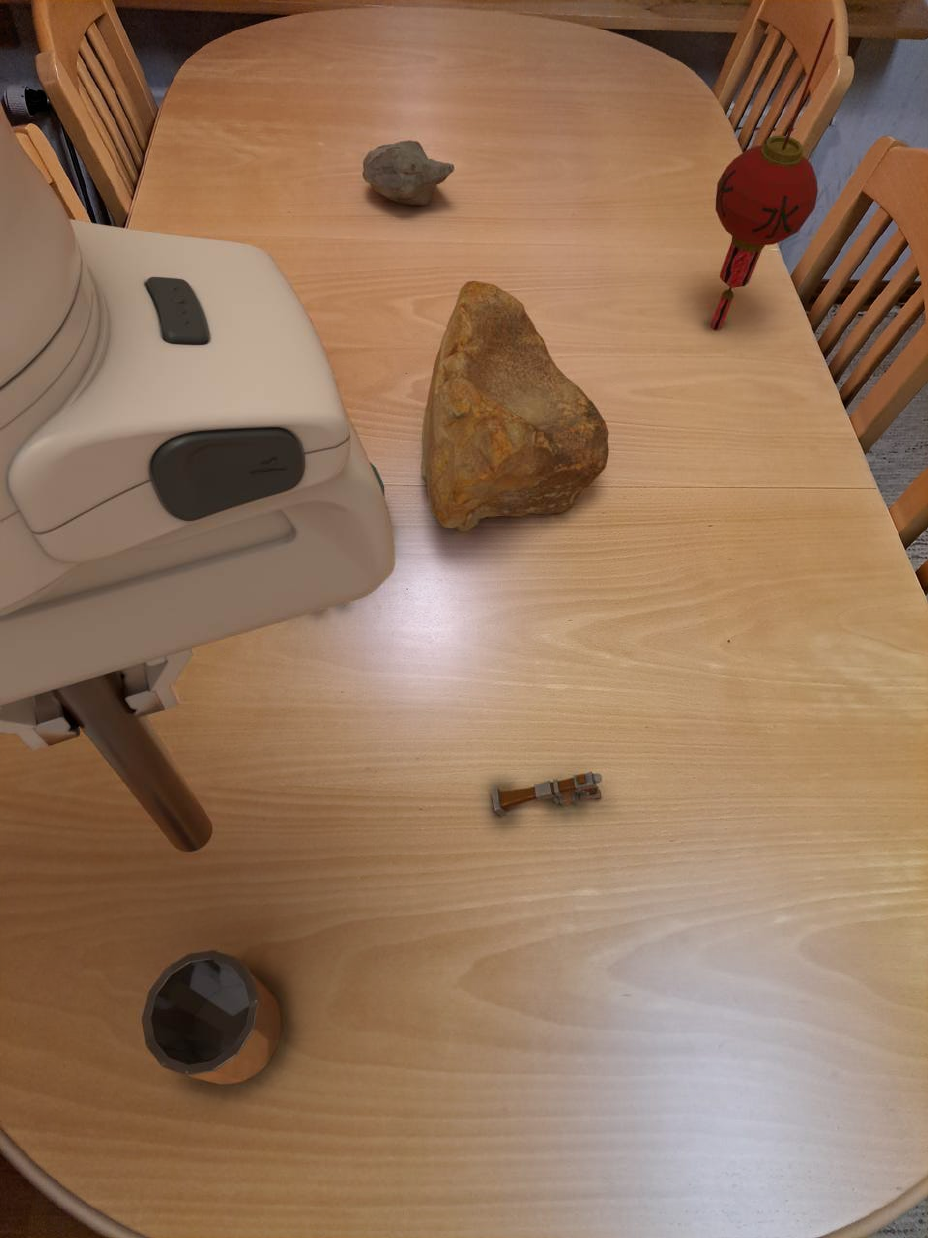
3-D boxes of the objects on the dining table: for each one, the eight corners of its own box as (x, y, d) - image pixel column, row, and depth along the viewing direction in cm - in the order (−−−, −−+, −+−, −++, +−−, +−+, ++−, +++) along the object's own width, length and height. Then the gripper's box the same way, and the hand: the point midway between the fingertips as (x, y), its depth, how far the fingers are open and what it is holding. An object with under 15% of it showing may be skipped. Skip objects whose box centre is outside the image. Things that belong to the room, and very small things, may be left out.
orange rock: (591, 593, 73) (647, 476, 61) (405, 568, 72) (423, 443, 59) (585, 412, 86) (629, 285, 74) (427, 387, 85) (445, 254, 72)
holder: (197, 1102, 51) (154, 1095, 42) (176, 999, 53) (132, 974, 45) (293, 1061, 52) (270, 1047, 44) (268, 964, 55) (242, 933, 46)
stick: (175, 859, 39) (30, 682, 24) (166, 820, 40) (21, 627, 25) (217, 844, 40) (101, 661, 24) (207, 806, 41) (90, 608, 25)
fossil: (456, 186, 104) (460, 120, 97) (449, 229, 99) (452, 162, 92) (368, 176, 104) (365, 109, 97) (356, 219, 99) (353, 151, 92)
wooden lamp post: (614, 804, 61) (601, 785, 57) (512, 825, 63) (493, 809, 59) (610, 780, 62) (596, 761, 58) (509, 803, 64) (490, 785, 60)
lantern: (680, 353, 89) (788, 43, 64) (668, 297, 94) (763, -11, 69) (766, 356, 90) (906, 50, 64) (749, 300, 95) (873, -5, 69)
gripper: (-821, 705, 13) (-236, 911, 24) (418, 406, 18) (412, 695, 30) (-704, 425, 16) (-232, 728, 27) (330, 237, 21) (356, 560, 33)
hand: (107, 709), depth 29 cm, fingers closed on stick, 2 cm apart
